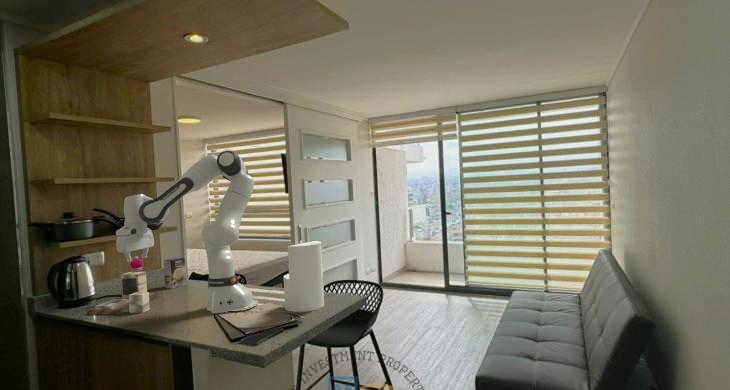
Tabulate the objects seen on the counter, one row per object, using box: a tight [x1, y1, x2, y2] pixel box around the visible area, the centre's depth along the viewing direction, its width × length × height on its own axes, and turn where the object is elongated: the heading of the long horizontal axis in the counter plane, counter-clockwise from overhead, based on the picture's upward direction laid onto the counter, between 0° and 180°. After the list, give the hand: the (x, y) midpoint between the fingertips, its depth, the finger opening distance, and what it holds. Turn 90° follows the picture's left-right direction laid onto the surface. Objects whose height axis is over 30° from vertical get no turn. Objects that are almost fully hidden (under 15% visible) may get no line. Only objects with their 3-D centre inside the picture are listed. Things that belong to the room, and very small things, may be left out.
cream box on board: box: [86, 271, 159, 315], centre depth 185 cm, size 15×28×14 cm, turn 174°
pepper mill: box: [129, 255, 144, 272], centre depth 210 cm, size 7×7×20 cm
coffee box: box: [163, 257, 186, 290], centre depth 220 cm, size 9×6×16 cm
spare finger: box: [128, 291, 151, 314], centre depth 174 cm, size 7×4×8 cm, turn 84°
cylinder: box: [283, 240, 325, 313], centre depth 170 cm, size 17×17×28 cm
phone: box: [239, 326, 284, 347], centre depth 135 cm, size 8×1×15 cm
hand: (137, 259), depth 174 cm, fingers open, 8 cm apart
